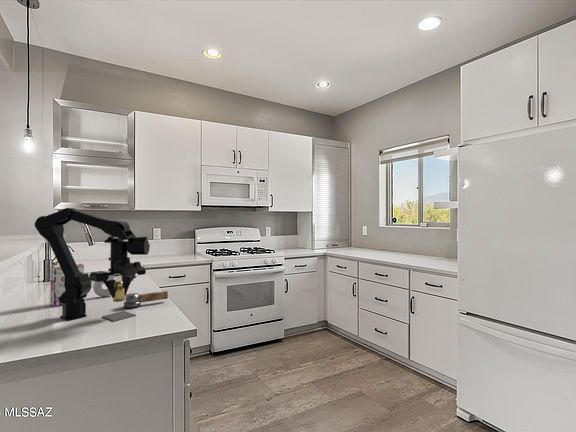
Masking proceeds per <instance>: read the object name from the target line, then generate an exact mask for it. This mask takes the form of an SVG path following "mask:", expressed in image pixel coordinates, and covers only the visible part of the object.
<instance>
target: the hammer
mask: <svg viewBox="0 0 576 432" xmlns="http://www.w3.org/2000/svg"><path fill="white" fill-rule="evenodd" d="M168 294H169V293H168V291H167V290H162V291H155V292H146V293H142V294H139V293H137V292H133V293H132V292H131V293H126V295H125V300H124V301H123V308H126V309H128V308H129V309H132V308H137V307H140V306H141V305H142V303H146V302H154V301H162V300H166V299H167V300H168V298H169V295H168Z"/></svg>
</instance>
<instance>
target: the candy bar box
mask: <svg viewBox="0 0 576 432" xmlns="http://www.w3.org/2000/svg"><path fill="white" fill-rule="evenodd" d="M76 265H77V267H78V269H79V271H80V272H81V273H82V274H85V273H84V271H85V270H84V269H85V268H84V267H85V265H84V264H82V263H76ZM49 276H50V285H49V288H50V289H49V295H50V296H49V305H50V306H51V307H60V306H61V307H62V304H60V302H59V299H58V298H59V297H60V296H61V295H62V294H63V293H64V292H65V287H64V281H65V276H64V274H63V272H62V270H61V267H60V265H59V264H58V265H50V275H49Z"/></svg>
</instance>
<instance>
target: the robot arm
mask: <svg viewBox="0 0 576 432" xmlns="http://www.w3.org/2000/svg"><path fill="white" fill-rule="evenodd" d="M70 221H74V222H77V223H80V224H81V223H82V224H84V225H87V226H90V227H93V228H96V229H98V230H101V231H102V232H103V233H105V234H107V235H109V236H108V237H107V239H105V240H104V241H103V242H104V243H106V244H110V248H109V249H110V251H109V252H110V257H108V261H109V263H110V268H109V267H108V271H103V270H98V271H91V272H90V273H88V272H86V273H84V274H82V273H81V272H80V271H79V269H78V267H77V265H76V264H77V263H76V261H75V259H74V256H73V254H72V253H71V250H70V248H69V246H68V243H67V241H66V239H65V238H64V237H65V236H64V232H65V231H64V230H65V228H64V226H65V225H66V224H68V223H70ZM34 227H35V229H36V231H37V232H38V233H39V235H40V236H41V237H42V238H44V240H46V241H47V242H48V243H49V245H50V248H51V250H52V252H53V255H54V257H55V259H56V261H57V263H58V265H60V267H61V270H62V272H63V274H64V276H65V281H64V287H65V292H64V293H63V294H62V295H61V296H60V297H59V298H58V299H59V302H60V304H62V306H61V307H62V308H61V313H62V315H60V316H59V318H61V319H63V320H65V321H71V320H76V319H80V318H85V317H87V311H86V310H87V307H86V306H87V304H86V303H87V302H85V298H87V297H88V294H89V293H90V292H91V289H93V285H92V283H93V282H101V281H103V282H104V283H103V284H104V285H105V287H106V289H108V291H109V293H110V297H111V298H112V299H113V298H114V296H115V287H114V284H115V282H116V280H117V279H116V280H114V278H116V277H119V276H121V281H123V286H125V296H126V295H127V294H128V290H129V288H130V285H131V282H132V281H133V280H135V279H137V275H138V276H142V275H146V274H147V273H146V272H147V271H146V270H147V269H146V268H145V267H144V266H142V263H141V262H140V261H134V262H131V259H130V257H129V256H128V255H129V254H130V255H132V256H141V255H142V256H147V255H148V254H149V252H150V249H151V245H150V242H149V240H148V236H136V235H135V234H134V232H133V231H132V229H131V227H130V224H129V223H128V222H127V221H124V220H119V219H108V218H104V217H100V216H98V215H95V214H92V213H88V212H86V211H83V210H79V209H77V208H75V207H65V208H63V209H61V210H58V211H56V212H53V213H50V214H48V215H41V216H39V217H37V219H36V220H35V222H34ZM136 274H137V275H136Z"/></svg>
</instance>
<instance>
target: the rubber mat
mask: <svg viewBox="0 0 576 432" xmlns="http://www.w3.org/2000/svg"><path fill="white" fill-rule="evenodd" d="M136 316H137V314H135V313H132V312H129V311H126V310H121V311H117V312H114V313H110V314H105V315H103V316H101V318H102V319H105V320H109V321H111V322H117V321H122V320H124V319H128V318H131V317H132V318H133V317H136Z"/></svg>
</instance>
